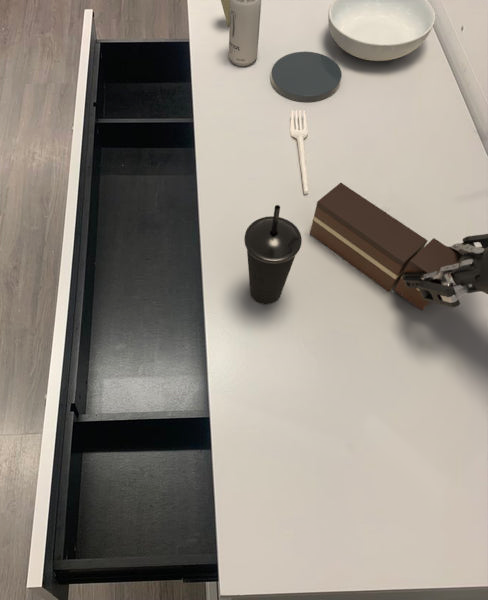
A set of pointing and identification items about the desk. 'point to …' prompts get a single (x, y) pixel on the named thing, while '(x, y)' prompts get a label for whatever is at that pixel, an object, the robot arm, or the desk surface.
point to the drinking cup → (270, 255)
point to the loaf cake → (365, 235)
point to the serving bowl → (380, 26)
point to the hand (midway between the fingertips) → (418, 266)
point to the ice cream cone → (226, 10)
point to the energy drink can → (244, 31)
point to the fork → (300, 143)
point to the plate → (306, 76)
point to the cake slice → (427, 269)
